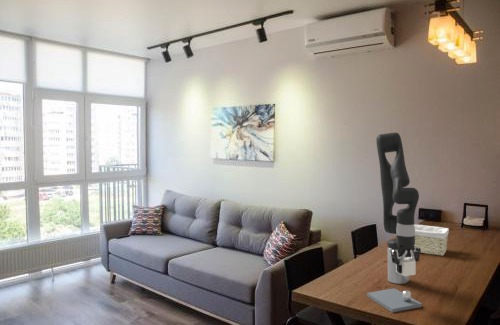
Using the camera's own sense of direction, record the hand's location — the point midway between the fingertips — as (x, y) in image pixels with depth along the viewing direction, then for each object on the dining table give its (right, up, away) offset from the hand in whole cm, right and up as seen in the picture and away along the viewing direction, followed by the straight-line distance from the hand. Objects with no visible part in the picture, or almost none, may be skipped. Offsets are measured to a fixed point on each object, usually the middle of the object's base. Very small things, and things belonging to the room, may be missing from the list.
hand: (405, 271), depth 167 cm
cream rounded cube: (0, -1, 0) cm, 1 cm away
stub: (+1, -13, +1) cm, 13 cm away
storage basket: (+44, -9, +76) cm, 88 cm away
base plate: (-4, -14, +4) cm, 15 cm away
